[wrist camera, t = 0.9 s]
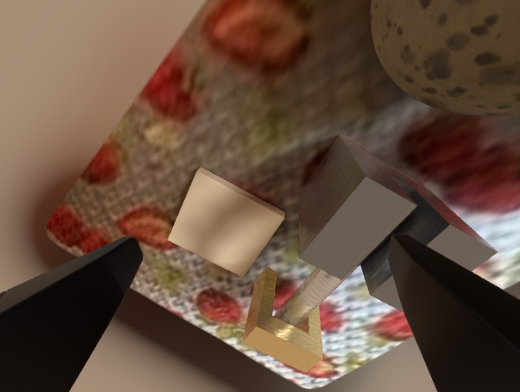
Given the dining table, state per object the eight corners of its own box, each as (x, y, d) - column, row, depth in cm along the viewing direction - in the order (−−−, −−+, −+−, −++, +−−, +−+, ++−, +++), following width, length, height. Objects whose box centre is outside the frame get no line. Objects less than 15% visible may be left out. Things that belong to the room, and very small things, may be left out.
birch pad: (285, 212, 24) (284, 217, 23) (244, 271, 28) (243, 277, 27) (201, 167, 23) (196, 170, 22) (172, 234, 27) (167, 239, 26)
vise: (420, 182, 20) (497, 252, 12) (299, 309, 29) (298, 397, 21) (339, 134, 20) (365, 176, 12) (239, 279, 28) (215, 359, 20)
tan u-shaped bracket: (317, 292, 25) (323, 358, 19) (304, 306, 26) (305, 372, 20) (266, 266, 24) (256, 326, 18) (255, 281, 25) (241, 342, 20)
